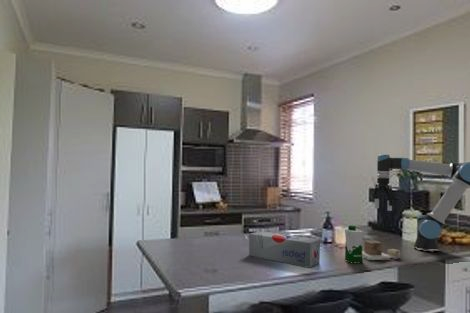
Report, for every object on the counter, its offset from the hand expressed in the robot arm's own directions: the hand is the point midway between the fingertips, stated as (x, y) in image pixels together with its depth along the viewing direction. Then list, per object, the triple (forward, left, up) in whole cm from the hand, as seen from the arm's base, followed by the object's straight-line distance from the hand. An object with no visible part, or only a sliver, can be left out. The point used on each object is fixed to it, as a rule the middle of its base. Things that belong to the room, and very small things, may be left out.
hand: (383, 209), depth 239 cm
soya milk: (+37, +26, -27) cm, 52 cm away
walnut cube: (+20, +19, -24) cm, 37 cm away
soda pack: (+76, +15, -27) cm, 82 cm away
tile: (+20, +19, -27) cm, 38 cm away
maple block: (+8, +22, -27) cm, 35 cm away
